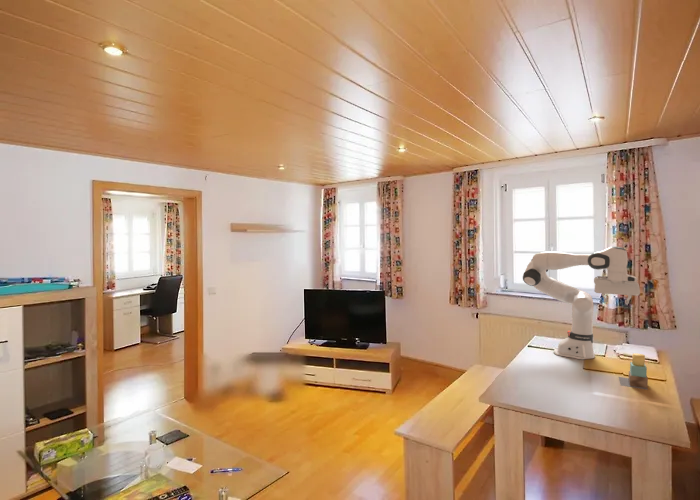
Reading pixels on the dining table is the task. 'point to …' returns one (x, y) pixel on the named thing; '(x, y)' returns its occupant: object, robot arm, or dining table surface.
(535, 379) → the dining table surface
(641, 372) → the block top
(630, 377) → the block base
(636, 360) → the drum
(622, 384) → the slate board
